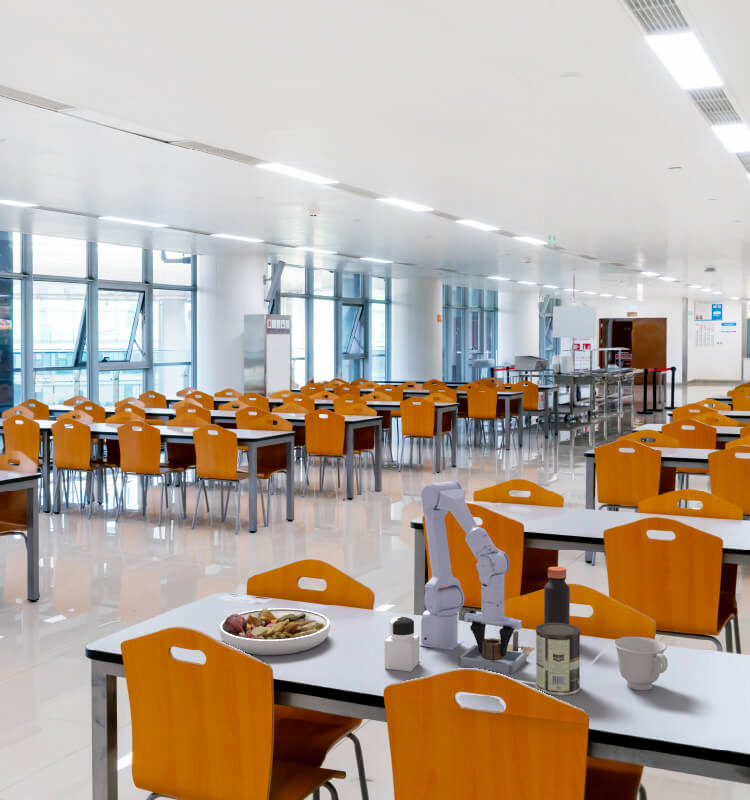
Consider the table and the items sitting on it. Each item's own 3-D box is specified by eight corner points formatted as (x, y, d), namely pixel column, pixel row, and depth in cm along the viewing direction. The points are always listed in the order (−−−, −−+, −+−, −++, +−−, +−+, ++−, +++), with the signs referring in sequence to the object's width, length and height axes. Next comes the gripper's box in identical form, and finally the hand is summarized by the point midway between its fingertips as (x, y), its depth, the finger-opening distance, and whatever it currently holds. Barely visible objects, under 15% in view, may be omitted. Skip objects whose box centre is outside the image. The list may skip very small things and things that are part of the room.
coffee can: (566, 678, 220) (566, 620, 220) (588, 693, 211) (588, 632, 210) (527, 682, 217) (528, 624, 217) (547, 698, 208) (548, 637, 207)
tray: (458, 667, 228) (458, 657, 228) (474, 654, 238) (474, 644, 238) (511, 676, 222) (512, 666, 222) (526, 662, 231) (526, 652, 231)
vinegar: (574, 643, 247) (574, 570, 246) (552, 646, 244) (553, 572, 243) (560, 636, 253) (560, 564, 252) (539, 639, 251) (539, 567, 250)
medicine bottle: (419, 663, 231) (419, 616, 231) (411, 672, 225) (411, 624, 224) (392, 660, 234) (392, 613, 233) (384, 669, 227) (384, 621, 226)
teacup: (644, 703, 204) (644, 659, 204) (602, 681, 218) (602, 640, 218) (686, 694, 209) (686, 651, 209) (642, 674, 223) (643, 633, 222)
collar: (479, 658, 229) (479, 642, 229) (486, 652, 233) (486, 637, 233) (498, 661, 226) (499, 645, 226) (505, 655, 231) (506, 640, 231)
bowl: (314, 621, 269) (314, 594, 269) (343, 652, 241) (343, 623, 240) (212, 631, 260) (212, 603, 259) (229, 664, 231) (229, 634, 231)
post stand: (495, 654, 238) (495, 633, 238) (505, 645, 245) (506, 625, 245) (525, 659, 234) (525, 637, 234) (534, 650, 241) (535, 629, 241)
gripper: (525, 599, 229) (525, 653, 230) (471, 593, 236) (471, 644, 237) (516, 606, 223) (516, 661, 224) (461, 599, 230) (461, 652, 230)
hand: (492, 653), depth 230 cm, fingers closed on collar, 5 cm apart
